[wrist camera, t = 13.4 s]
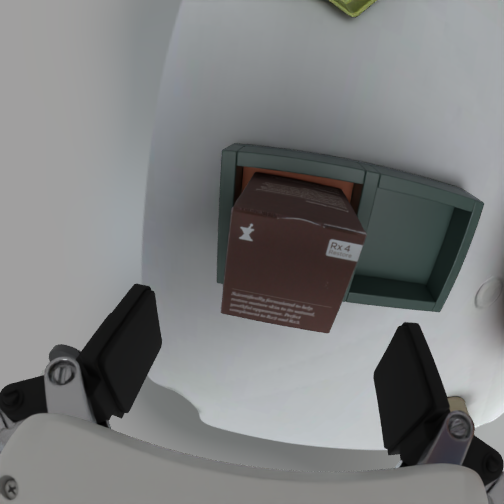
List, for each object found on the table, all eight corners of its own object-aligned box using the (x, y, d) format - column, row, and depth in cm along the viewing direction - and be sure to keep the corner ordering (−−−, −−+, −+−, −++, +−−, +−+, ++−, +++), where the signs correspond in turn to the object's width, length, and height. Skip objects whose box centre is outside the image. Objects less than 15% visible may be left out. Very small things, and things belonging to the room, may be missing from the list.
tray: (227, 260, 23) (216, 283, 20) (233, 143, 18) (221, 149, 16) (427, 288, 21) (440, 312, 18) (462, 188, 17) (484, 203, 14)
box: (241, 249, 21) (216, 314, 15) (254, 168, 18) (228, 205, 12) (323, 266, 21) (329, 336, 14) (345, 188, 18) (370, 235, 11)
